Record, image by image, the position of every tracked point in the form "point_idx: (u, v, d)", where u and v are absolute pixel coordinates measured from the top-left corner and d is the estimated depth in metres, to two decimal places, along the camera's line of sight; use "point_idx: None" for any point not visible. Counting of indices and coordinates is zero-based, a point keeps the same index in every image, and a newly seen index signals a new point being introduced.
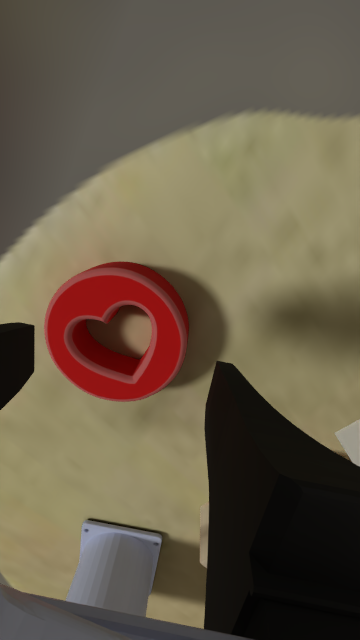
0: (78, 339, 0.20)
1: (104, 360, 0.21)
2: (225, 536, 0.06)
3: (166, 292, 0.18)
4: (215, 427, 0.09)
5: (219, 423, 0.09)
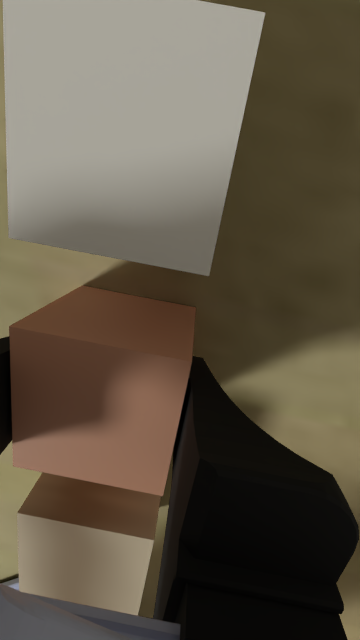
0: None
1: None
2: (172, 525, 0.06)
3: None
4: (180, 420, 0.09)
5: (182, 416, 0.09)
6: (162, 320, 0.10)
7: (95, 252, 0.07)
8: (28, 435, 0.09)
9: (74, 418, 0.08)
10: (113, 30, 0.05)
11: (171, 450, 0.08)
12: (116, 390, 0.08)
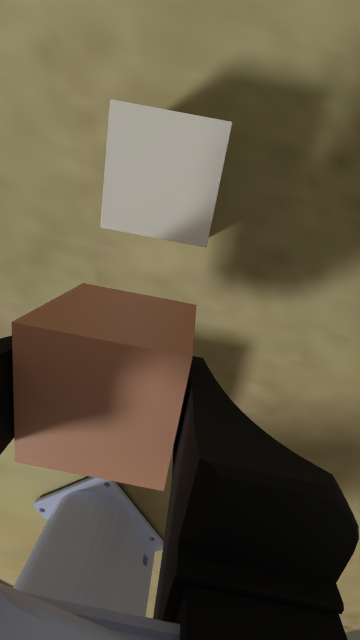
0: None
1: None
2: (172, 525, 0.06)
3: None
4: (180, 420, 0.09)
5: (182, 416, 0.09)
6: (162, 317, 0.10)
7: (146, 235, 0.13)
8: (30, 430, 0.09)
9: (75, 413, 0.08)
10: (161, 128, 0.11)
11: (172, 445, 0.08)
12: (118, 385, 0.08)
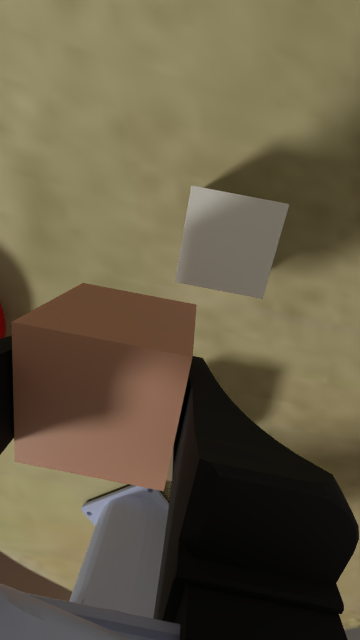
0: None
1: None
2: (172, 525, 0.06)
3: None
4: (180, 420, 0.09)
5: (182, 416, 0.09)
6: (162, 317, 0.10)
7: (212, 288, 0.16)
8: (30, 430, 0.09)
9: (75, 413, 0.08)
10: (231, 207, 0.14)
11: (172, 445, 0.08)
12: (118, 385, 0.08)
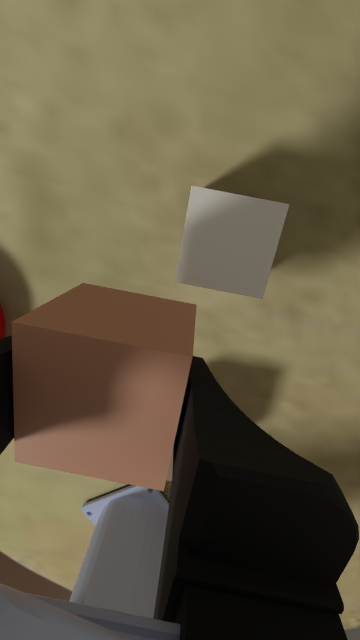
0: None
1: None
2: (172, 525, 0.06)
3: None
4: (180, 420, 0.09)
5: (182, 416, 0.09)
6: (162, 317, 0.10)
7: (212, 288, 0.16)
8: (30, 430, 0.09)
9: (75, 413, 0.08)
10: (231, 207, 0.14)
11: (172, 445, 0.08)
12: (118, 385, 0.08)
